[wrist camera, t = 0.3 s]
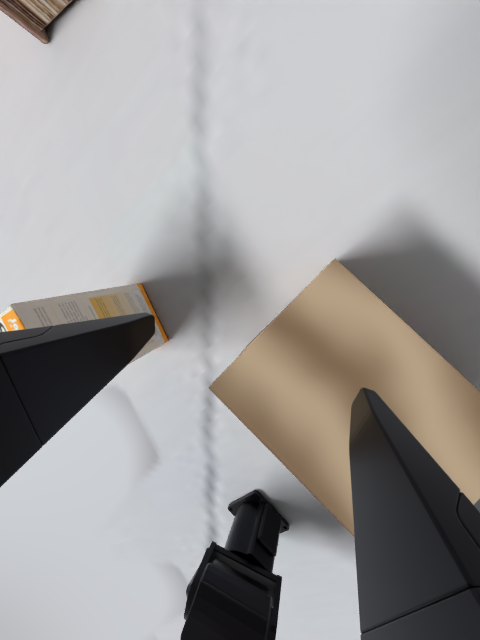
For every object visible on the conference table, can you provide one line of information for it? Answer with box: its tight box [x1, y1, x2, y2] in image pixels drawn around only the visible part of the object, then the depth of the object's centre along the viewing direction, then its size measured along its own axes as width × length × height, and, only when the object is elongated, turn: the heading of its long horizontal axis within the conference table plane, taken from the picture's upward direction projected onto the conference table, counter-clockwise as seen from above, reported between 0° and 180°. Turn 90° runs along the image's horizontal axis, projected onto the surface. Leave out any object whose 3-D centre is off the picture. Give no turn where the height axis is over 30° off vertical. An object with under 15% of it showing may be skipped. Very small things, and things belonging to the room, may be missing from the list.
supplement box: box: [0, 284, 168, 364], centre depth 23 cm, size 8×5×13 cm, turn 24°
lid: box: [209, 259, 480, 537], centre depth 15 cm, size 12×17×1 cm
